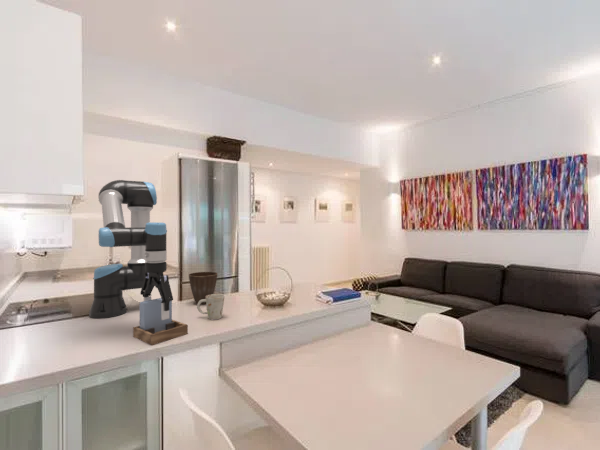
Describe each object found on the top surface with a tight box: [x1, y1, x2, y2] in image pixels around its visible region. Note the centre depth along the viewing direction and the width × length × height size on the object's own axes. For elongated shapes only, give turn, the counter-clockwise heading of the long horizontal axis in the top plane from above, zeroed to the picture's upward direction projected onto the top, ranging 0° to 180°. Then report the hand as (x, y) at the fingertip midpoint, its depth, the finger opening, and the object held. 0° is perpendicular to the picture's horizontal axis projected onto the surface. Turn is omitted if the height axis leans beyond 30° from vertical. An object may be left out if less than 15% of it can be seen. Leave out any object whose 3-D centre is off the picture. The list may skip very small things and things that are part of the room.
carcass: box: [132, 319, 189, 346], centre depth 115 cm, size 14×14×4 cm
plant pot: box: [188, 271, 218, 306], centre depth 163 cm, size 15×15×16 cm
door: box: [139, 297, 173, 332], centre depth 117 cm, size 4×11×12 cm, turn 143°
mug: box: [196, 293, 225, 321], centre depth 137 cm, size 8×13×10 cm, turn 89°
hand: (156, 316), depth 117 cm, fingers open, 13 cm apart
